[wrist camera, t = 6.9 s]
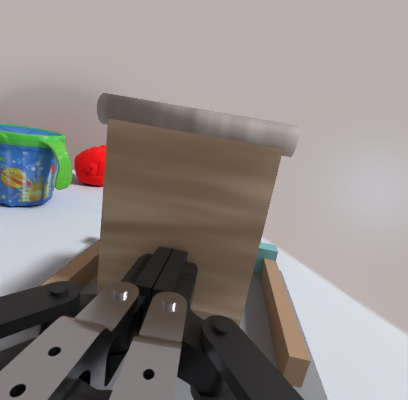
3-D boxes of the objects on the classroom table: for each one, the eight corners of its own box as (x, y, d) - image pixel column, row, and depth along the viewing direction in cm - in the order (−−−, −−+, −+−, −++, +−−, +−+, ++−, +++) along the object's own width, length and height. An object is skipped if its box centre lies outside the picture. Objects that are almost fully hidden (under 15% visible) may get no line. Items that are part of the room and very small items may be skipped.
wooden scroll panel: (234, 384, 14) (301, 125, 11) (83, 348, 15) (97, 90, 11) (234, 278, 25) (267, 131, 21) (146, 260, 26) (164, 113, 22)
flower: (60, 157, 46) (76, 151, 54) (78, 195, 49) (91, 185, 56) (102, 145, 46) (112, 141, 54) (118, 184, 49) (125, 175, 56)
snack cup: (91, 206, 39) (94, 139, 36) (18, 224, 29) (16, 135, 27) (25, 183, 44) (24, 124, 42) (-54, 192, 35) (-62, 116, 32)
